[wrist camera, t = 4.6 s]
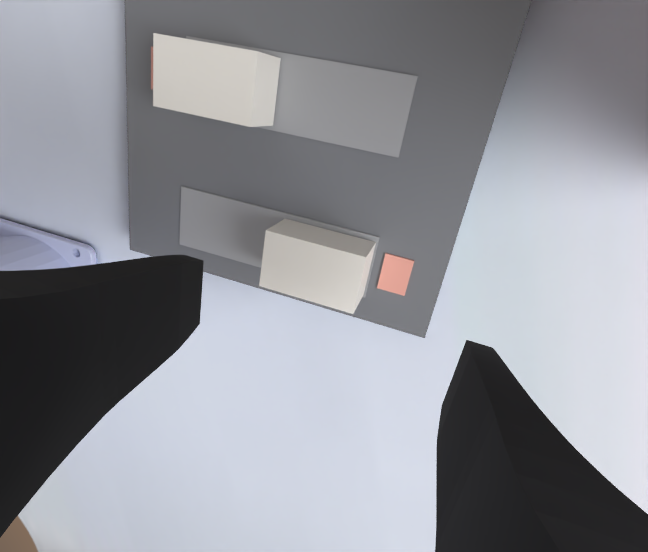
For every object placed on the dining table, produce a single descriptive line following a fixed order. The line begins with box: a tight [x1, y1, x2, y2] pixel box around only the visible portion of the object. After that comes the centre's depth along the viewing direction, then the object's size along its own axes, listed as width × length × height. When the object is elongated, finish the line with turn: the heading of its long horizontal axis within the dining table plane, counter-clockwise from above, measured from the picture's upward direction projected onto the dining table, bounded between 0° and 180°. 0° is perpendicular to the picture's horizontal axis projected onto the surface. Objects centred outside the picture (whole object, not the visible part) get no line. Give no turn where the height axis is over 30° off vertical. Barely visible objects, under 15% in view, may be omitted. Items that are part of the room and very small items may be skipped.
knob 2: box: [259, 219, 376, 314], centre depth 17 cm, size 4×2×2 cm, turn 80°
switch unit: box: [125, 0, 532, 338], centre depth 17 cm, size 15×17×1 cm
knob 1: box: [153, 33, 281, 127], centre depth 16 cm, size 4×2×2 cm, turn 80°
